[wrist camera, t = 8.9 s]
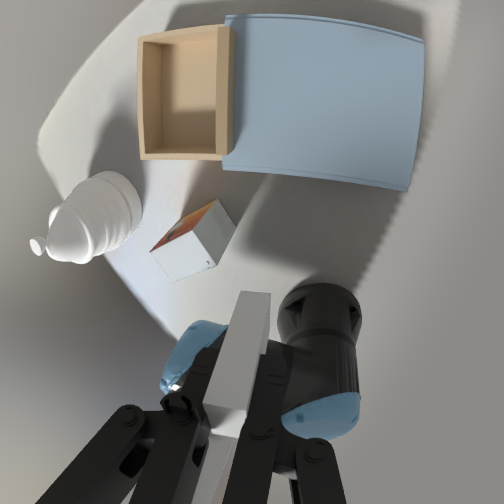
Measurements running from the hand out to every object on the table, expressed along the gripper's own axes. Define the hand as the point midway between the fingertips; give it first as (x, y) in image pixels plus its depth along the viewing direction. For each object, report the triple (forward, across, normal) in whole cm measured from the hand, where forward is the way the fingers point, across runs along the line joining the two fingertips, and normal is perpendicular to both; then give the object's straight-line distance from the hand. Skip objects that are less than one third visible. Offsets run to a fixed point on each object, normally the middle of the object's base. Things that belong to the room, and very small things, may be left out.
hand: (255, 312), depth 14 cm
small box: (+28, +12, +7) cm, 31 cm away
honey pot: (+28, +30, +4) cm, 41 cm away
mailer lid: (+23, -4, -12) cm, 26 cm away
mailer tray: (+27, +7, -12) cm, 30 cm away
